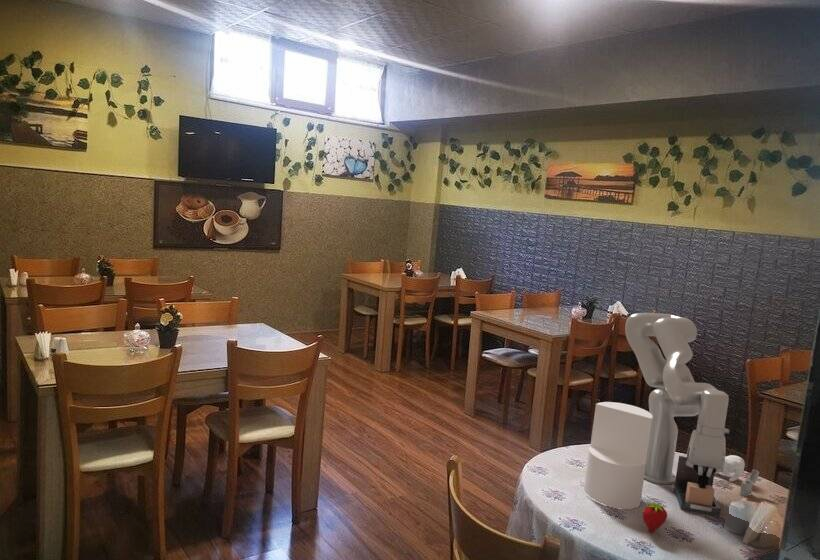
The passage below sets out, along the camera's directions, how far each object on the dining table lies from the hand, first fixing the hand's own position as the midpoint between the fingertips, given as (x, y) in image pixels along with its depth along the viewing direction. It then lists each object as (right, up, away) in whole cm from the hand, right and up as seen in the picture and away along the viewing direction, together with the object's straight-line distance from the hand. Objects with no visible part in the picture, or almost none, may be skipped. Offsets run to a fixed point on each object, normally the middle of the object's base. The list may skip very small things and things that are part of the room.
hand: (701, 486), depth 189 cm
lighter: (+23, -8, +15) cm, 28 cm away
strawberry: (-22, -8, -17) cm, 29 cm away
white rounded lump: (+21, -6, +28) cm, 35 cm away
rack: (0, -7, +4) cm, 8 cm away
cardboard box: (-1, -6, +1) cm, 6 cm away
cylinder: (-27, -5, +4) cm, 27 cm away
